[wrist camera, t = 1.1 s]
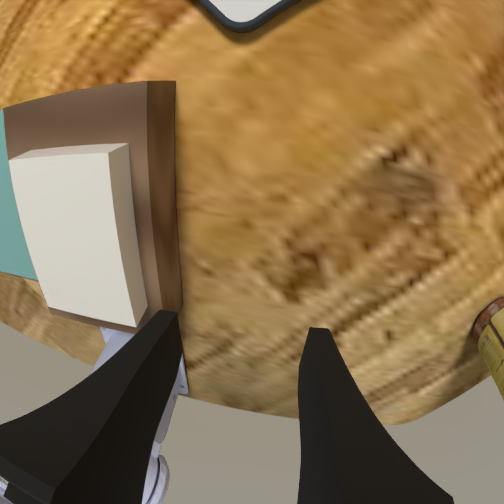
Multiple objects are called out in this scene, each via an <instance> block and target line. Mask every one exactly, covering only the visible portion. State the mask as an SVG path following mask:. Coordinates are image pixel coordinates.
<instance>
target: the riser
mask: <svg viewBox="0 0 504 504" xmlns="http://www.w3.org/2000/svg"><path fill="white" fill-rule="evenodd" d="M3 114H4V128H5V138H6V147H7V155H8V162H9V160H11V159H13V158H15V157H17V156H19V155H21V154H24V153H26V152H28V151H31V150H37V149H46V148H56V147H67V146H80V145H96V144H118V143H129V159H130V174H131V186H132V198H133V208H134V217H135V226H136V234H137V241H138V249H139V256H140V262H141V269H142V275H143V281H144V287H145V293H146V298H147V304H148V306H147V308H146V310H145V312H144V314H143V316H142V318H141V320H140V322H139V323H138V325H137V327H132V326H127V325H122V324H118V323H113V322H108V321H104V320H100V319H95V318H91V317H87V316H83V315H78V314H74V313H70V312H67V311H63V310H59V309H55V308H52V307H48V308H49V310H50V313H51V314H53V315H57V316H61V317H64V318H68V319H72V320H75V321H79V322H83V323H87V324H91V325H95V326H99V327H104V328H108V329H112V330H117V331H121V332H126V333H131V334H136V333H137V332H138V331H139V330H140V329H141V328H142V327H143V326H144V325H145V324H146V323H147V322H148V321H149V320H150V319H151V317H152V316H153V315H154V314H155V313H156V312H157V311H159V310H167V311H173V312H177V315H179V313H180V310H181V308H182V305H183V298H182V287H181V275H180V262H179V248H178V233H177V214H176V189H175V81H141V82H131V83H122V84H114V85H107V86H100V87H93V88H87V89H81V90H76V91H71V92H65V93H61V94H56V95H51V96H47V97H43V98H39V99H35V100H31V101H27V102H23V103H20V104H16V105H13V106H10V107H6V108H3ZM9 169H10V167H9ZM10 175H11V173H10ZM11 181H12V179H11ZM12 186H13V185H12ZM13 191H14V190H13ZM14 196H15V195H14ZM15 201H16V200H15ZM16 206H17V204H16ZM17 210H18V209H17ZM18 214H19V213H18ZM19 218H20V217H19ZM20 222H21V221H20ZM21 226H22V225H21ZM22 230H23V229H22ZM23 234H24V233H23ZM24 238H25V237H24ZM25 241H26V240H25ZM26 245H27V244H26ZM27 248H28V247H27ZM28 251H29V250H28ZM29 255H30V254H29ZM30 258H31V257H30ZM31 261H32V260H31ZM32 264H33V263H32ZM33 267H34V266H33ZM34 270H35V269H34ZM35 273H36V272H35ZM36 276H37V275H36ZM37 279H38V278H37ZM38 282H39V281H38ZM40 287H41V286H40ZM41 290H42V289H41ZM42 293H43V292H42ZM44 298H45V297H44ZM46 303H47V302H46Z"/></svg>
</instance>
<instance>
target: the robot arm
mask: <svg viewBox="0 0 504 504" xmlns="http://www.w3.org/2000/svg"><path fill="white" fill-rule="evenodd" d="M100 329H101V332H102V335H103V338H104V340H105V343H106V346H105V347H104V349H103V351H102V353H101V355H100V356H99V358H98V360H97V362H96V364H95V366H94V367H93V369H92V371H91V373H90V375H89V376H88V377H87V378H86V379H84V380H83V381H81V382H80V383H79V384H77V385H76V386H75V387H73V388H71V389H70V390H68V391H67V392H66V393H64V394H62V395H61V396H59V397H58V398H56V399H54V400H53V401H51V402H49V403H48V404H46V405H44V406H42V407H40V408H38V409H36V410H34V411H32V412H30V413H28V414H26V415H24V416H22V417H19V418H17V419H14V420H12V421H9V422H7V423H4V424H1V425H0V476H1V477H3V478H4V479H5V480H7V481H8V482H9V483H8V485H7V484H6V483H5V482H4V480H2V479H1V478H0V504H162V502H163V500H164V497H165V495H166V492H167V489H168V485H169V468H168V465H167V462H166V460H165V458H164V457H163V456H162V455H159V452H160V449H161V443H162V441H163V440H164V438H165V436H166V433H167V430H168V426H169V423H170V419H171V416H172V413H173V409H174V406H175V403H176V399H177V396H178V393H180V394H187V393H188V391H189V389H188V384H187V378H186V372H185V366H184V359H183V352H182V345H181V338H180V330H179V323H178V315H177V312H173V311H167V310H159V311H157V312H156V313H155V314H154V315H153V316H152V317H151V319H150V320H149V321H148V322H147V323H146V324H145V325H144V326H143V327H142V328H141V329H140V330H139V331H138V332H137V333H136V334H131V333H126V332H121V331H117V330H112V329H108V328H104V327H100ZM298 405H299V421H300V437H301V438H300V439H301V467H300V481H299V492H298V502H297V504H454V501H453V497H452V496H450V495H449V494H448V493H446V492H445V491H444V490H443V489H442V488H440V487H439V486H438V485H437V484H435V483H434V482H433V481H432V480H431V479H430V478H429V477H428V476H427V475H426V474H424V472H423V471H421V470H420V469H419V468H418V467H417V466H416V465H415V464H414V462H413V461H411V459H410V458H409V457H408V456H407V455H406V454H405V453H404V451H403V450H402V449H401V448H400V447H399V446H398V445H397V444H396V442H395V441H394V440H393V439H392V437H391V436H390V435H389V434H388V432H387V431H386V430H385V428H384V427H383V426H382V424H381V423H380V421H379V420H378V419H377V417H376V416H375V414H374V413H373V411H372V410H371V408H370V407H369V405H368V403H367V402H366V400H365V399H364V397H363V395H362V394H361V392H360V390H359V388H358V387H357V385H356V383H355V381H354V379H353V378H352V376H351V374H350V372H349V370H348V368H347V366H346V364H345V362H344V360H343V358H342V356H341V354H340V352H339V350H338V348H337V346H336V343H335V341H334V339H333V337H332V334H331V332H330V330H329V329H326V328H312V327H310V328H309V332H308V335H307V339H306V343H305V347H304V350H303V354H302V357H301V361H300V365H299V377H298Z"/></svg>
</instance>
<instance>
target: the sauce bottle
mask: <svg viewBox="0 0 504 504" xmlns="http://www.w3.org/2000/svg"><path fill="white" fill-rule="evenodd" d="M473 338H474V340H475V342H476V344H477V345H478V350H479V352H480V354H481V356H482V358H483V360H484V362H485V364H486V365H487V367H488V369H489V371H490V373H491V375H492V377H493V379H494V381H495V383H496V385H497V387H498V389H499V391H500V393H501V395H502V398H503V400H504V297H500V298H498V299H497V300H495V301H494V302H493V303H492V304H491V305H490V306H488V307H487V308H486V309H485V310H484V311H483V312H482V313H481V314H480V316H479V318H478V319H477V321H476V323H475V326H474V328H473Z"/></svg>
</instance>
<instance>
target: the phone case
mask: <svg viewBox="0 0 504 504" xmlns="http://www.w3.org/2000/svg"><path fill="white" fill-rule="evenodd" d="M197 1H198V2H199V3H200V4H201V5H202V6H203V7H205V8H206V9H207V10H208V11H209V12H210V13H211V14H212V15H213V16H214V17H215V18H216V19H217V20H218V21H219V22H220V23H221V24H222V25H223V26H225V27H226V28H227V29H229V30H231V31H234V32H238V33H246V32H250V31H253V30H255V29H257V28H258V27H260V26H261V25H263V24H264V23H266V22H267V21H269V20H270V19H272V18H273V17H275V16H276V15H278V14H279V13H281V12H282V11H284V10H286V9H287V8H289V7H290V6H292V5H294V4H295V3H297V2H299V1H300V0H197Z"/></svg>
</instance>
